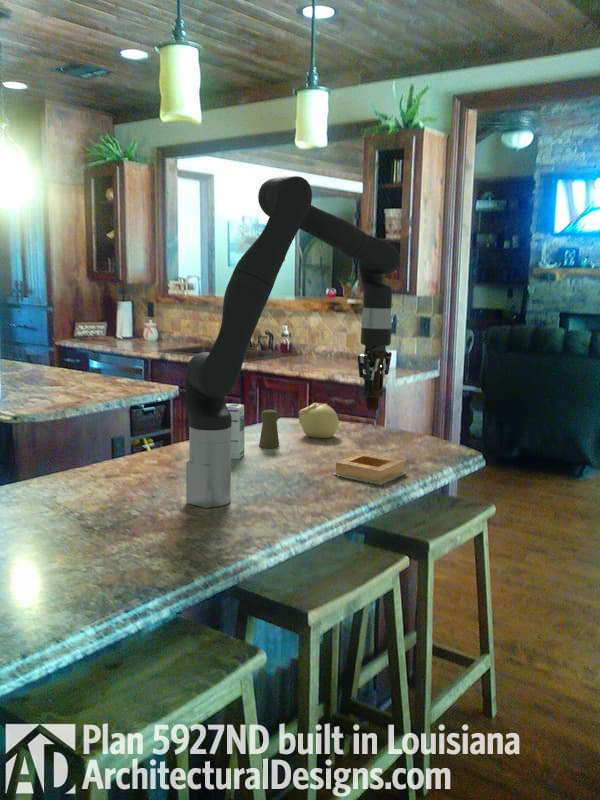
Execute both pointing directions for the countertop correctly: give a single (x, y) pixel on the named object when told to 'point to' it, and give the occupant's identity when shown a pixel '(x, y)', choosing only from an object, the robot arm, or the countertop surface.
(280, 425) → the countertop surface
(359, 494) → the countertop surface
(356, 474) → the receiver
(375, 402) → the bolt
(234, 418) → the syrup box
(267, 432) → the cork
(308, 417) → the sculpture
